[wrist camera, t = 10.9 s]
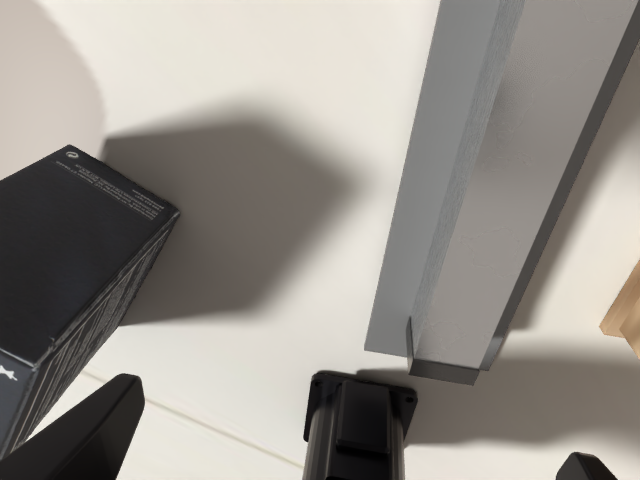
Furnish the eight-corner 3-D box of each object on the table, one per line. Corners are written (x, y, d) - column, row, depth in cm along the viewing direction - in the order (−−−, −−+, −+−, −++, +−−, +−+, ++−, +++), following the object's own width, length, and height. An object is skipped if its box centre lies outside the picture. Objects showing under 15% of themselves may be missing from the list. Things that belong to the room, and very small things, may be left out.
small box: (62, 133, 20) (-187, 255, 11) (186, 208, 22) (47, 370, 13) (17, 276, 25) (-179, 436, 17) (118, 329, 27) (-13, 504, 18)
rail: (463, 339, 23) (473, 385, 20) (405, 329, 23) (408, 374, 21) (692, -255, 11) (783, -324, 9) (574, -265, 12) (629, -335, 9)
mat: (486, 365, 24) (488, 370, 24) (364, 345, 25) (364, 350, 24) (809, -356, 11) (823, -367, 10) (524, -378, 11) (528, -390, 11)
